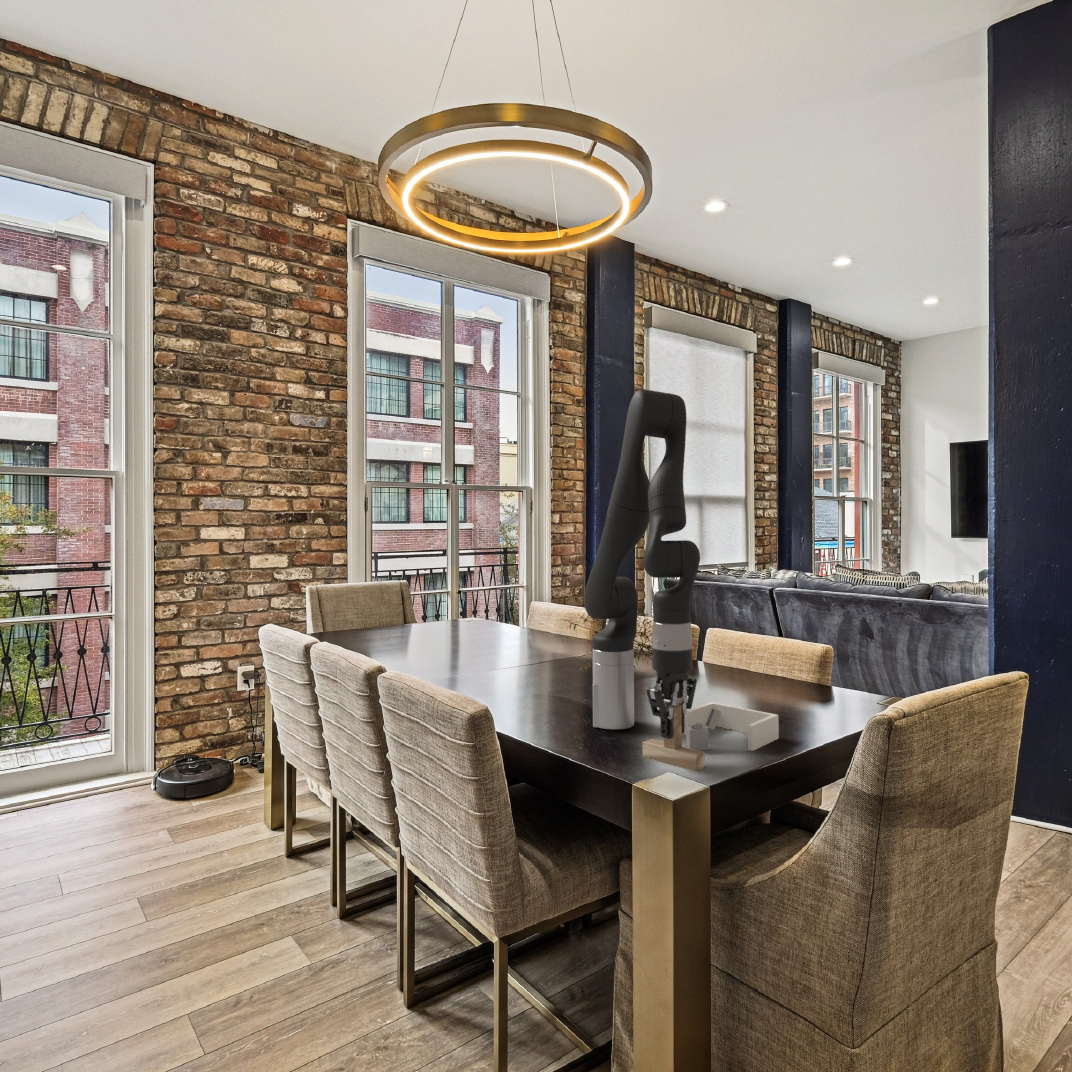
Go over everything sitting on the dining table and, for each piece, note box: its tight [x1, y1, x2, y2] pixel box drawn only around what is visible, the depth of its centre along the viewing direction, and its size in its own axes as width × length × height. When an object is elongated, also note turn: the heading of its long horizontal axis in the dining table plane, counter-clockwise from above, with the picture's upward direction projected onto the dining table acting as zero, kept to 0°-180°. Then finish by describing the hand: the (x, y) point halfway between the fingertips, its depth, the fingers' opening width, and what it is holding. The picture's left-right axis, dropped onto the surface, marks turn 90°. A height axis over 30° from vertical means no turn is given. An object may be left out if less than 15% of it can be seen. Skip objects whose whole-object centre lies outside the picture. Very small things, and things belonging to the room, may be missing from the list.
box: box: [683, 701, 780, 752], centre depth 155 cm, size 11×16×5 cm
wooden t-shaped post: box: [642, 704, 706, 772], centre depth 139 cm, size 3×12×11 cm, turn 45°
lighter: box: [685, 707, 721, 751], centre depth 147 cm, size 7×2×8 cm, turn 106°
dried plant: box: [556, 578, 653, 670], centre depth 213 cm, size 30×31×45 cm
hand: (672, 734), depth 139 cm, fingers open, 3 cm apart
